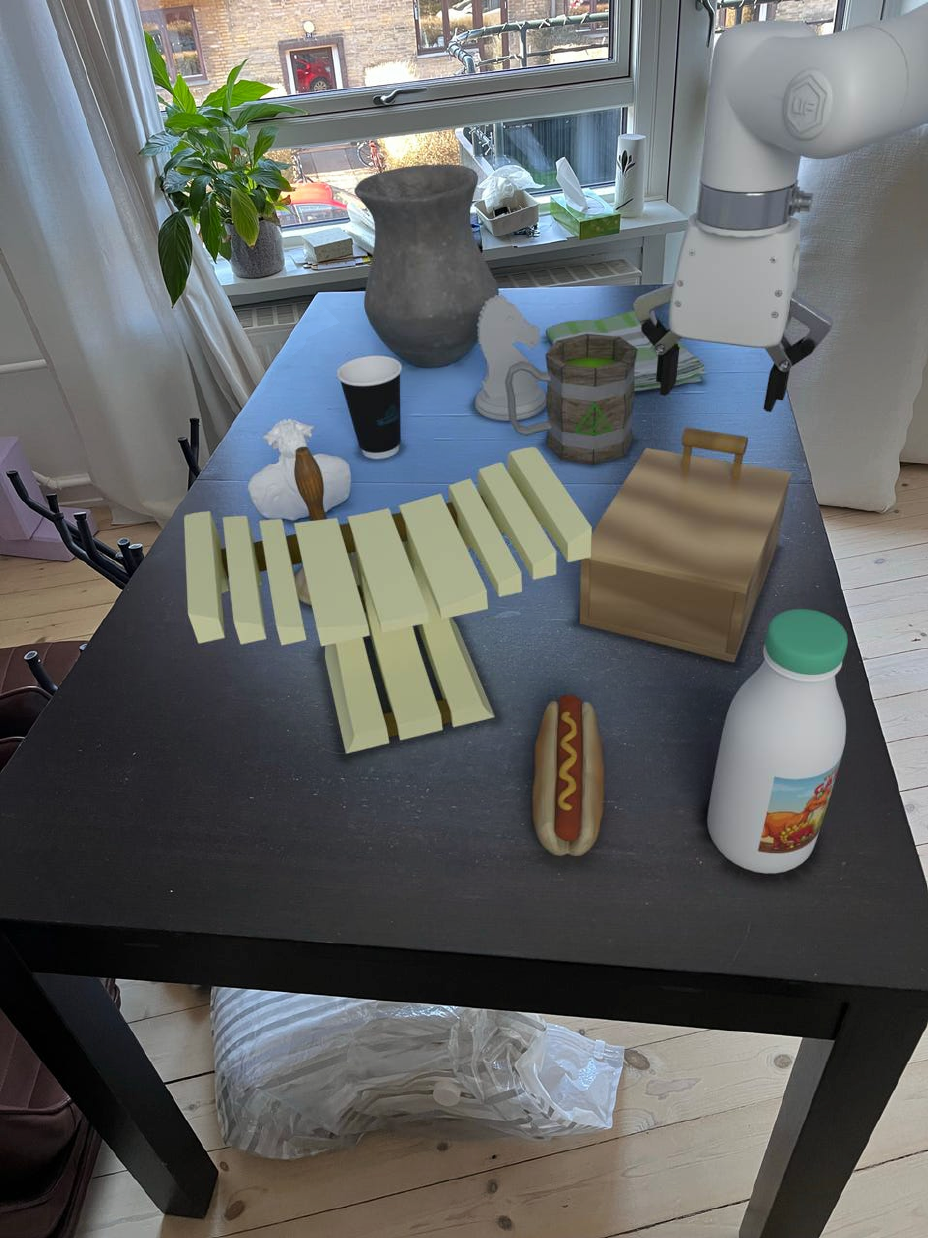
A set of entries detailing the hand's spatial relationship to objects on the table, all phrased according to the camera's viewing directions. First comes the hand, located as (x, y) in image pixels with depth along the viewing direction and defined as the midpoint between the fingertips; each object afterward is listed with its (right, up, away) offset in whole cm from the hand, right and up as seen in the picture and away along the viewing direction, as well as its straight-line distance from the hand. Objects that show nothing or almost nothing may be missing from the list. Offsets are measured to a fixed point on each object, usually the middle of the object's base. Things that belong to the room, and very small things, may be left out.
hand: (718, 397), depth 83 cm
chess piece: (-18, +8, +38) cm, 43 cm away
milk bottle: (-2, -37, -17) cm, 41 cm away
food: (-16, -35, -13) cm, 41 cm away
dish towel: (-1, +17, +46) cm, 49 cm away
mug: (-11, +1, +29) cm, 31 cm away
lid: (-2, -11, +1) cm, 12 cm away
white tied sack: (-43, -8, +22) cm, 49 cm away
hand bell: (-38, -17, +10) cm, 43 cm away
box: (-2, -18, +5) cm, 18 cm away
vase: (-28, +19, +51) cm, 61 cm away
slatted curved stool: (-30, -26, -2) cm, 40 cm away
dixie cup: (-35, +1, +31) cm, 46 cm away
